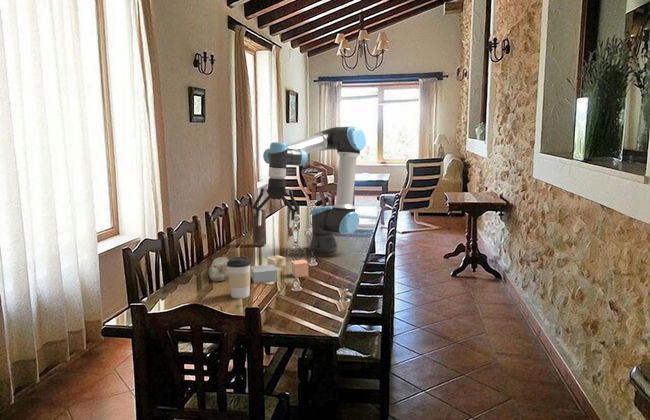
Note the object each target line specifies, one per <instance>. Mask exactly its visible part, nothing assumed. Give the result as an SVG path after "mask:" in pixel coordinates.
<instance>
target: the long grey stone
mask: <svg viewBox="0 0 650 420" xmlns="http://www.w3.org/2000/svg"><path fill="white" fill-rule="evenodd" d="M229 260H230V259H229V257H226V256H221V257H220V256H219V257H217V258H214V259H213V260H212V263H211V264H210V265H209V267H208V271H207V272H208V274H207V275H208V276H209V277H208V278H209V279H210V280H211V281H213V282H220V281H222V282H223V281H225V280H226V279H229V276H228V266H227V262H228V261H229Z"/></svg>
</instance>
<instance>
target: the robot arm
mask: <svg viewBox="0 0 650 420" xmlns="http://www.w3.org/2000/svg"><path fill="white" fill-rule="evenodd" d="M366 142H367V139H366V135H365V132H364V130H362V128H360V127H358V126H353V125H352V126H334V127H330V128H327V129H324V130H321V131H318V132H316V133H315V134H314V135H313V136H309V137H305V138H303V139H300V140H297V141H294V142H291V143H286V142H280V141H279V142H276V141H275V142H274V141H273V142H270V144H269V147H268V148H266V149H265V150H264V152H263V156H262V157H263V161H264V162H265V163H266V164H267V165H268V164H269V165H268V181H267V184H268V185H267V188H260V191H259V194H258V196H257V198H256V200H255V202H254V203H253V206H252V207H251V208H252V210H256V217H257V218H259V219H258V226H260V225H261V212H262V211H260V209H262V208H263V207H264V206H265V205H266V204H267V203H268V202H269V200H270V199H271V200H279V201H280V200H282V201H283V203H284V204H285V205H286V207H287V208H288V210H289V211H290V212H289V220H288V221H289V223H288V224H289V225H288V227H289V229H290V228H292V223H293V221H295V216H296V215H295V213H297V212H299V211H300V209H299V206H298V204H297V202H296V200H295V197H294V195H293V189H288V190H287V189H286V183H287V182H286V179H285V178H286V177H287V166H295V167H296V166H297V167H302V166H304V165H306V164H307V162H308V155H309V154H311V153H312V154H313V153H314V152H317V151H319V152H323V151H327V150H328V151H329V150H336V153H337V155H338V156H339V161H338V163H339V164H338V173H337V184H336V185H337V186H336V197H335V199H336V200H335V204H333V205H326V206H317V207H314V208H312V209H311V216H310V217H311V233H312V234H311V238H310V242H309V246H308V248H309V249H308V251H310V252H312V253H321V254H324V253H332V252H333V253H334V252H336V251H338V247H339V246H338V243H337V240H336V236H335V233H337V234H341V235H351V234H353V233H355V231H356V230H357V228H358V227H359V224H360V217H359V214H358V213H357V212H356V207H355V206H354V195H355V194H354V192H355V183H356V182H355V179H356V168H357V157H359V156H360V155H361V151H362V150H363V149H364V148H365V146H366ZM264 194H267V197H266V198H264V199H263V201H262V202H261V203H260V204H259V202H260V201H261V199H262V198H263V196H264ZM286 194H287V195H288V196H289V198H290V200H291V203H292V204H291V203H290V202H289V201H288V199H287V198H286V197H285V195H286ZM292 205H293V206H292Z"/></svg>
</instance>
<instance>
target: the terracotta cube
mask: <svg viewBox="0 0 650 420" xmlns="http://www.w3.org/2000/svg"><path fill="white" fill-rule="evenodd" d="M290 263H291V275H292V276H293V277H294V278H301V277H309V276H310V275H309V262H308V261H307V260H306V259H296V260H291V262H290Z"/></svg>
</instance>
